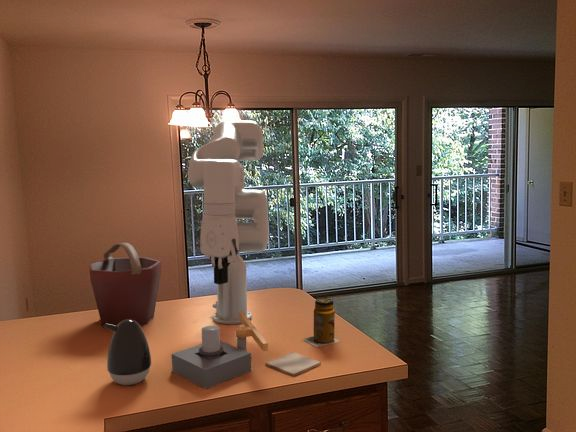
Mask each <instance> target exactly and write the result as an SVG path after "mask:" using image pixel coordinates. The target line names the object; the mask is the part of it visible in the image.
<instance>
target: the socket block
mask: <svg viewBox="0 0 576 432" xmlns="http://www.w3.org/2000/svg"><path fill="white" fill-rule="evenodd" d="M236 341H237V342H236V344H237V345H236V346H235V345H232V344H230V343H227V342H224V341H222V340H220V346H222V347H223V353H222V354H221V355H220V357H217V358H214V359H211V360H207V359H205V358H203V357H202V356H201V355H200V354H199V348H200V347H202V343H201V344H198V345H194V346H192V347H188V348H184V349H183V350H179V351H177V352H173V353H171V372H172V373H174V374H177V375H178V376H181V377H182V378H184V379H186V380H188V381H190V382H192V383H193V384H196V385H198V386H199V387H201V388H204V389H205V390H207V389H209V388H213V387H215V386H216V385H217V386H218V385H220V384H222V383H224V382H227V381H229V380H232V379H234V378H237V377H239V376H241V375H244V374H247V373H249V372H251V371H252V360H251V359H252V353H251V352H249V351H247V337H246V338H237V337H236Z"/></svg>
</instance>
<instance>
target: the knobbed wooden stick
mask: <svg viewBox="0 0 576 432" xmlns="http://www.w3.org/2000/svg"><path fill="white" fill-rule="evenodd" d="M239 320H240V321H241V322H242V323H241V324H242V325H243V326H239V327H236V328H235V337H236V339H237V338H246V339H247V338H250V337H251V338H252V339H253V340H254V341H255V343H256V344H257V345H258V347H259V348H260V349H261V351H262V352H268V351H269V349H268V347H269V343H268V342H267V340H266V339H265V338H264V336H263V335H262V334H261V332H259V330H258V329H257V328H256V326H255V325H254V324H253V322H252V320H251V319H250V320H249V319H248V318H247V316H246V315H245V314H244V313H243V312H239Z"/></svg>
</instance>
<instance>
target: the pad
mask: <svg viewBox="0 0 576 432" xmlns="http://www.w3.org/2000/svg"><path fill="white" fill-rule="evenodd" d="M321 363H322V362H321V361H319V360H316V359H313V358H312V357H311V358H310V357H308V356H305V355H302V354H301V353H300V354H299V353H297V352H294V351H292V352H290V353H287V354H286V353H285V354H284V355H281V356H279V357H277V358H274V359H272V360H268V361H266V362H265V366H267V367H270V368H272V369H274V370H277V371H280V372H283V373H285V374H287V375H290V376H292V377H295V376H298V375H301V374H303V373H304V372H308V371H309V370H312V369H313V368H315V367H318V366H321Z"/></svg>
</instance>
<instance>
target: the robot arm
mask: <svg viewBox="0 0 576 432" xmlns="http://www.w3.org/2000/svg"><path fill="white" fill-rule="evenodd" d="M212 134H213V136H212V137H211V138H210V139H209V141H208V143H206V144H204V145H201V146H200V147H198V148H196V149H195V150H194V151H193V153H192V154H191V157H190V161H189V164H188V169H187V170H188V171H187V177H188V182H189V184H190V185H191V186H192V188H193V187H194V188H196V189H203V203H204V204H203V206H204V207H203V211H204V215H202V219H201V224H200V225H201V227H200V238H199V239H200V241H199V244H200V245H199V246H200V252H201V254H203V255H204V256H205V258H207V259H209V260H210V262H211V267H212V268H213V283H214V284H216V289H217V292H216V293H217V295H216V296H217V299H216V302H215V303H213V304H212V309H213V308H214V309H215V311H216V312H215V313H213V315H212V319H213V321H214V322H216V323H217V324H221V325H222V324H223V325H240V324H242V322H241V321H240V320H239V312H243V313H244V314H245V315H246V316H247V318H248V319H249V320H250V321H251V319H252V318H253V315H252V313H251V311H248V299H247V298H248V295H247V294H248V291H247V289H248V288H247V287H248V285H247V265H246V262H245V260H244V259H243V258H242V256H240V254H239V253H260V252H265V250H267V248H268V243H269V220H268V219H269V217H268V215H269V214H268V213H269V212H268V209H269V208H268V199H267V196H266V193H265V192H264V191H262V190H259V189H245V168H244V166H243V165H242V163H241V162H243V161H246V162H247V161H249V162H250V161H252V162H253V161H254V162H255V161H258V160H260V159H262V157H263V153H264V135H263V131H262V128H261V125H260V124H259V123H258V122H257V121H254V120H224V121H220V122H219V123H218V124H217V125H216V126H215V128H214V130H213V133H212ZM238 220H252V221H253V222H237V221H238Z"/></svg>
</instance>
